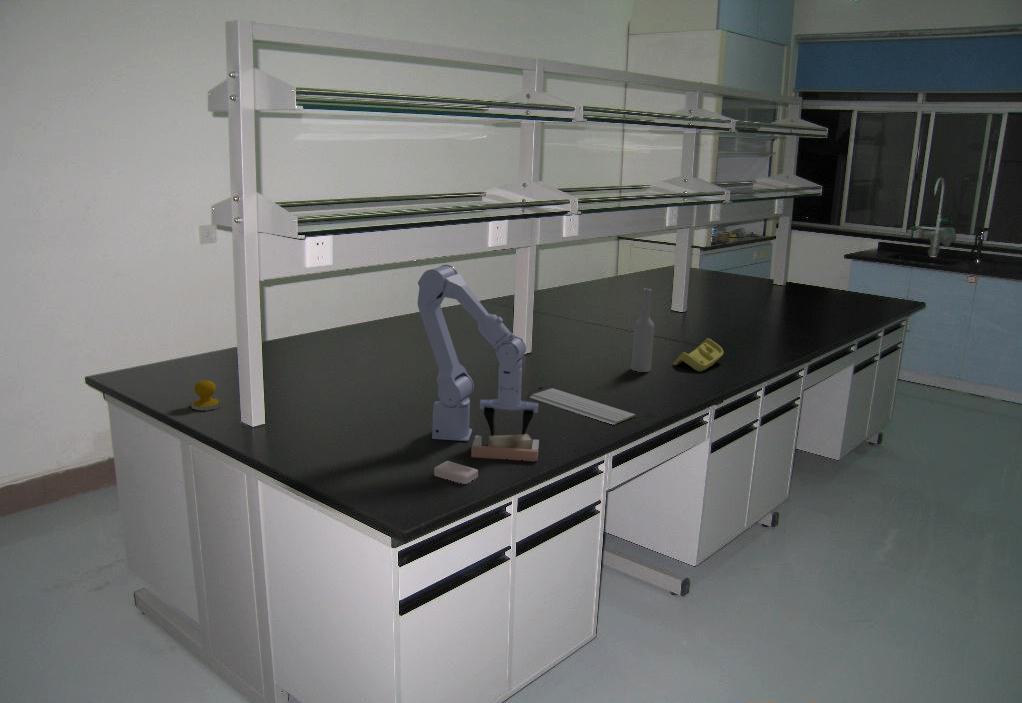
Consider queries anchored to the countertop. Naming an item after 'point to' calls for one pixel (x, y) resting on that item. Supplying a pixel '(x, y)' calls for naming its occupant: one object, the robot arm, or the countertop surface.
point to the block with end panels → (504, 451)
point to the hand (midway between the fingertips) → (507, 436)
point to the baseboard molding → (582, 406)
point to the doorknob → (205, 394)
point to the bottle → (643, 337)
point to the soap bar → (455, 472)
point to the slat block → (511, 441)
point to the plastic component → (701, 355)
